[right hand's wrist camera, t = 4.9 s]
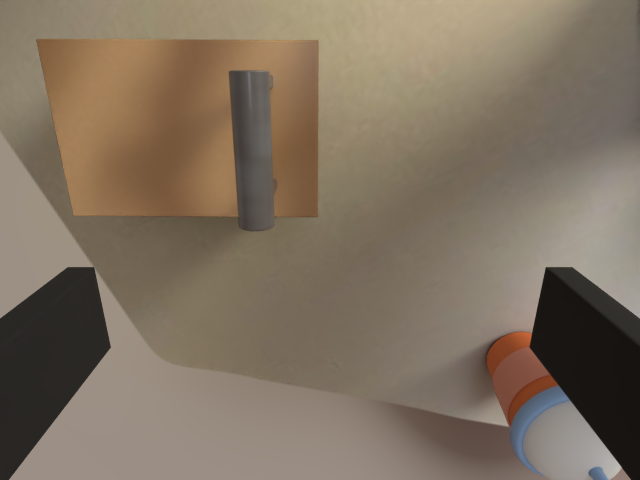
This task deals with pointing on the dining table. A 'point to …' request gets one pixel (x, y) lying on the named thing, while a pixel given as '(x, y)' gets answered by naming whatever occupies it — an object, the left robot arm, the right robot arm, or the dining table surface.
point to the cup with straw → (544, 417)
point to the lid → (186, 126)
